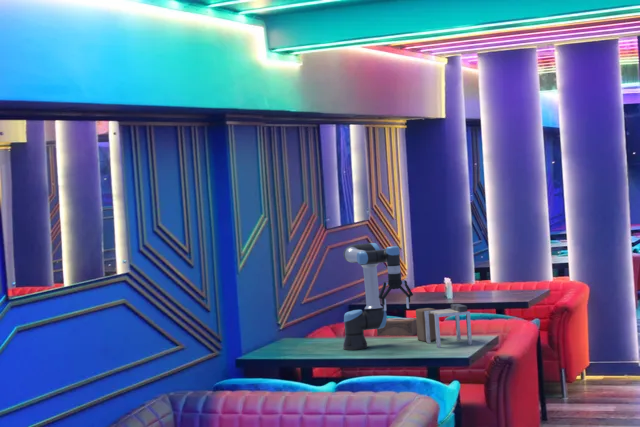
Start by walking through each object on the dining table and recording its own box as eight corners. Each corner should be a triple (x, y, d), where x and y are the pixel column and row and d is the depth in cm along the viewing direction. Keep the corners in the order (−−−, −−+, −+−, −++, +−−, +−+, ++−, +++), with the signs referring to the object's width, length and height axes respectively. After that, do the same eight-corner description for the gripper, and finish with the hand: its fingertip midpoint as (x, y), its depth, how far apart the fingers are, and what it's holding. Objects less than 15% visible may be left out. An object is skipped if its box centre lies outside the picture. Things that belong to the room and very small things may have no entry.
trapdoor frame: (426, 342, 598) (424, 311, 598) (459, 339, 603) (457, 307, 602) (437, 347, 577) (435, 314, 577) (472, 344, 581) (469, 311, 581)
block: (424, 342, 603) (422, 310, 602) (417, 340, 612) (414, 309, 611) (438, 340, 606) (436, 308, 606) (430, 338, 616) (428, 307, 615)
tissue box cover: (420, 332, 645) (419, 317, 645) (412, 336, 632) (411, 321, 632) (385, 332, 657) (384, 318, 657) (377, 336, 644) (376, 321, 644)
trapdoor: (429, 312, 596) (429, 306, 596) (458, 310, 600) (457, 303, 600) (438, 315, 580) (437, 309, 579) (467, 312, 583) (467, 306, 583)
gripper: (375, 275, 549) (377, 312, 550) (416, 271, 554) (419, 308, 554) (371, 274, 557) (374, 310, 557) (413, 270, 561) (415, 306, 562)
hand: (396, 309), depth 556 cm, fingers open, 13 cm apart
